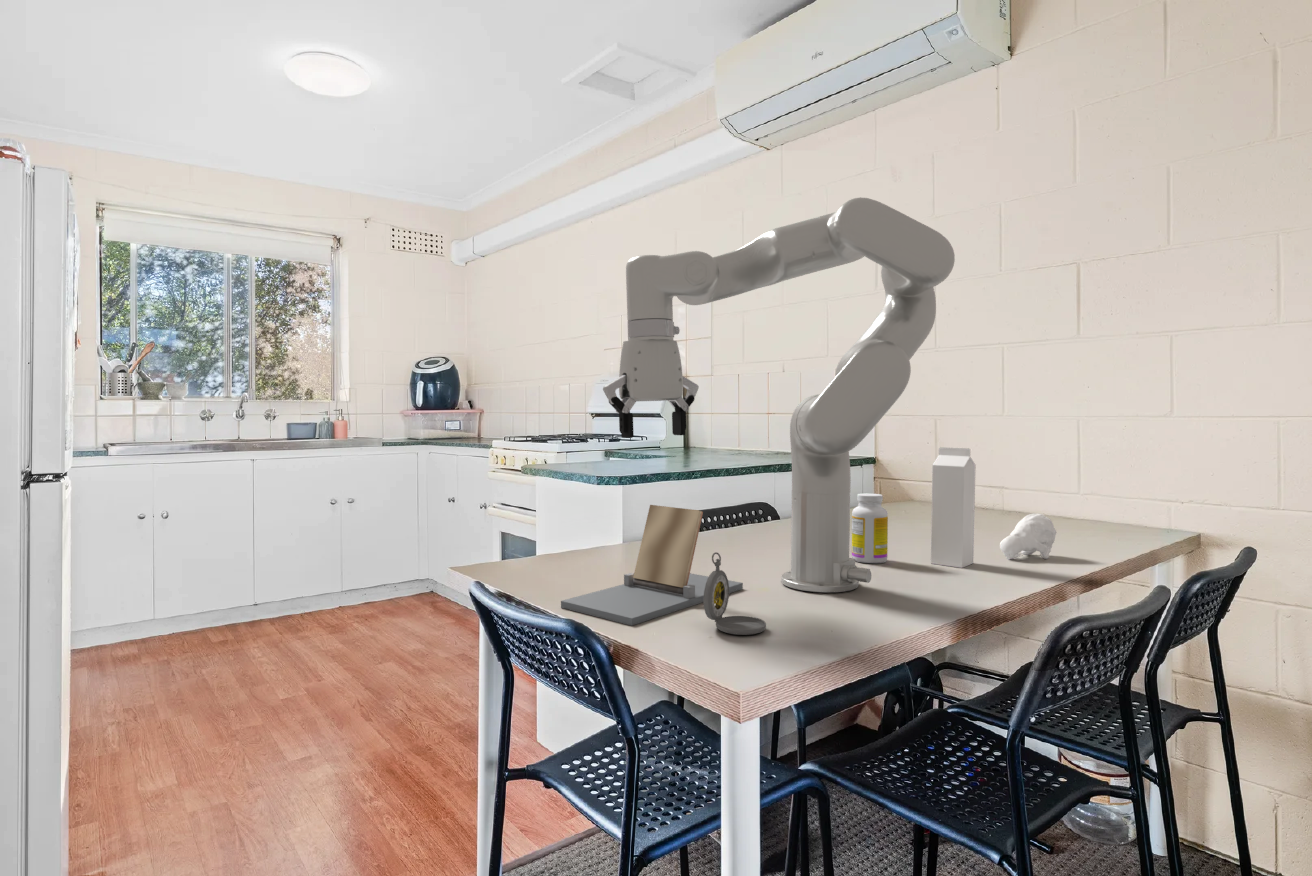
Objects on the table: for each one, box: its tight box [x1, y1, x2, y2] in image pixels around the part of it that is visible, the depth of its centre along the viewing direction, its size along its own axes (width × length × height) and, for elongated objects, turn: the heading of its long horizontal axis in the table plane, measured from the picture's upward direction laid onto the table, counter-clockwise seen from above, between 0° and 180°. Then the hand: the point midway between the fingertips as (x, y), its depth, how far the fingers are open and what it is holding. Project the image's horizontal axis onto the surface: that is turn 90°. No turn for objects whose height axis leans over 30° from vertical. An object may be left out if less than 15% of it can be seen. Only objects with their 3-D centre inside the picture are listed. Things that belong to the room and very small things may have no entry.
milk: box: [930, 446, 977, 569], centre depth 142 cm, size 6×6×22 cm
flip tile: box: [632, 504, 704, 595], centre depth 118 cm, size 10×13×1 cm
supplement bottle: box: [851, 492, 889, 564], centre depth 145 cm, size 7×7×13 cm
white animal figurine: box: [999, 513, 1058, 561], centre depth 148 cm, size 6×8×12 cm
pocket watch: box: [703, 552, 767, 636], centre depth 100 cm, size 8×8×10 cm
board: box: [560, 572, 744, 627], centre depth 116 cm, size 14×27×3 cm, turn 140°
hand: (653, 436), depth 125 cm, fingers open, 9 cm apart
